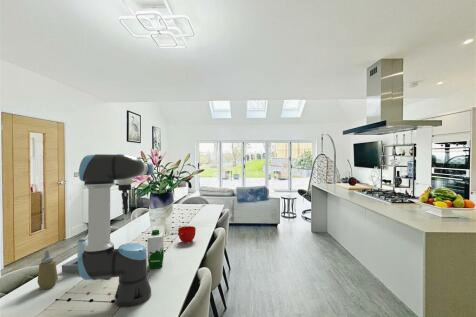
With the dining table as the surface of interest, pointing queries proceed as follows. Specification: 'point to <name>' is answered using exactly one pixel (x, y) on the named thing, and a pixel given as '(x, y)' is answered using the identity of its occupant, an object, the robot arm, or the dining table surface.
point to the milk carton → (155, 249)
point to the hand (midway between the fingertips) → (125, 217)
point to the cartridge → (81, 246)
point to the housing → (70, 267)
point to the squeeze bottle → (47, 272)
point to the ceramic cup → (186, 233)
